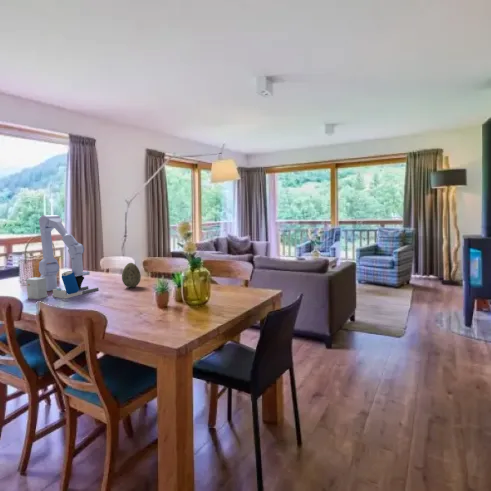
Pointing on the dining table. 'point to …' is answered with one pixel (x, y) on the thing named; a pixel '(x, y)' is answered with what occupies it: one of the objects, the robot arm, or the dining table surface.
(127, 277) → the decorative egg
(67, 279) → the beverage can
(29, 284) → the small box
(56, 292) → the dock
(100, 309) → the dining table surface
